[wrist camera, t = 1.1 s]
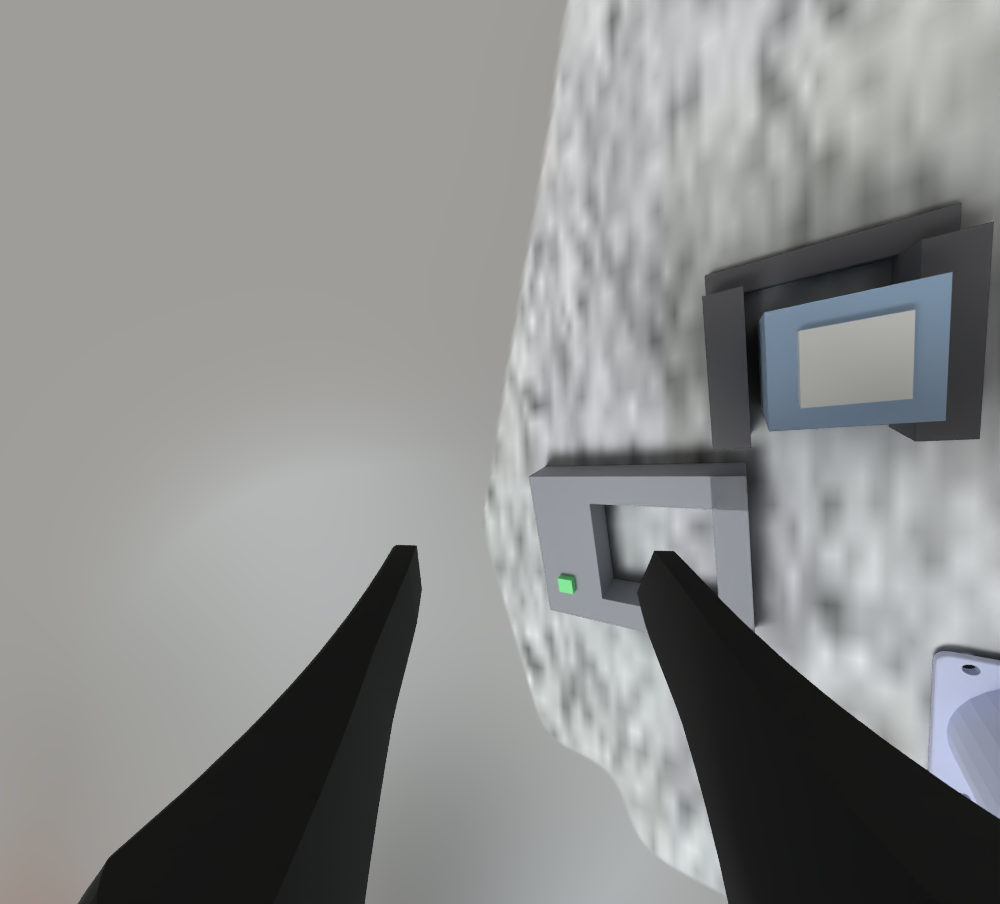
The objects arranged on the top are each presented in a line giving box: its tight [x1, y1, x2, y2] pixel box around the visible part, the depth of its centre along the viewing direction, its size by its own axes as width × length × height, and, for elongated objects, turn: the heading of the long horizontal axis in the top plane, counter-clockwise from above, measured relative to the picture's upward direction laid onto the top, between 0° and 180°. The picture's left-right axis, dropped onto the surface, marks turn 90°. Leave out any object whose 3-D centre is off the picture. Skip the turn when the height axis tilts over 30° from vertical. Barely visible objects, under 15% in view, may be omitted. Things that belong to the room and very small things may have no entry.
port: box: [529, 463, 755, 633], centre depth 22 cm, size 12×10×3 cm
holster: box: [702, 203, 994, 449], centre depth 15 cm, size 8×8×3 cm
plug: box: [757, 272, 953, 431], centre depth 13 cm, size 4×4×8 cm
